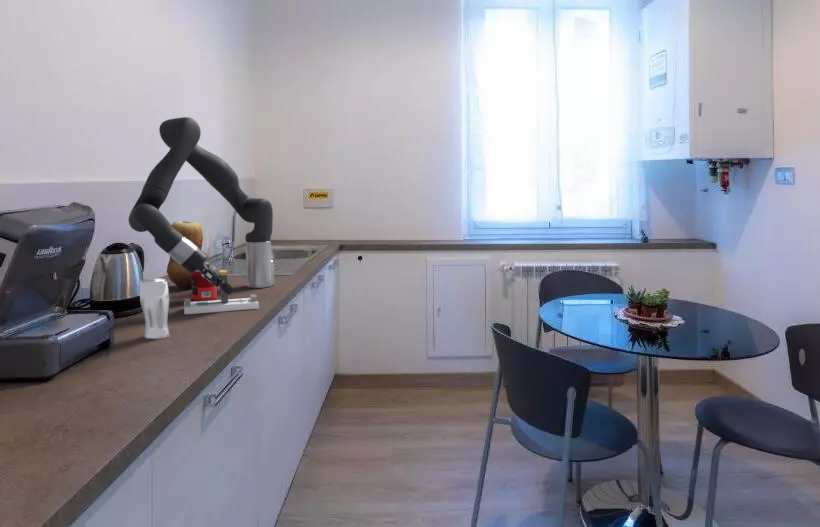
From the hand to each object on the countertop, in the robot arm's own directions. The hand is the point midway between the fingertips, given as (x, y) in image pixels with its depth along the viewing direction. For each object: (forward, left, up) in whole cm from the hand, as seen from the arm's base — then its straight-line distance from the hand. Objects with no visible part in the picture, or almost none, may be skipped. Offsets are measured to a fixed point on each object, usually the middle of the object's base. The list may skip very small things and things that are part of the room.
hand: (230, 290), depth 183 cm
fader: (+2, -1, -3) cm, 4 cm away
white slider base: (+2, -1, -6) cm, 6 cm away
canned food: (-2, -17, -6) cm, 18 cm away
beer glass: (+31, +14, -6) cm, 35 cm away
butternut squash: (-10, -42, -6) cm, 44 cm away
